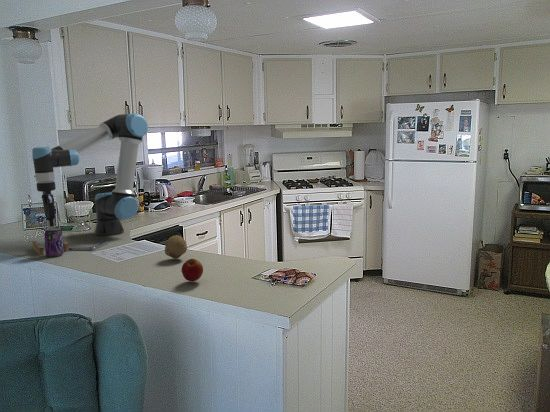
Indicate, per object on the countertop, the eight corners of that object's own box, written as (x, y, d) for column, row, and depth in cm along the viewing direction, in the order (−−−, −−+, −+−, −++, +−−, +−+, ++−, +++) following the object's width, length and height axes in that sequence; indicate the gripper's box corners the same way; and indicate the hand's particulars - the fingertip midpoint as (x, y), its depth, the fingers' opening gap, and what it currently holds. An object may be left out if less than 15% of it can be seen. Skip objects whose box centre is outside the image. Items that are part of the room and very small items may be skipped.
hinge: (113, 247, 215) (113, 244, 215) (71, 253, 204) (71, 251, 203) (106, 243, 223) (106, 240, 223) (65, 249, 212) (65, 246, 212)
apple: (177, 282, 162) (176, 260, 161) (193, 276, 169) (192, 255, 168) (192, 285, 158) (191, 263, 157) (208, 279, 165) (207, 257, 164)
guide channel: (60, 244, 221) (59, 237, 221) (68, 251, 209) (68, 243, 208) (32, 248, 214) (32, 241, 214) (40, 255, 202) (39, 247, 201)
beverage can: (53, 258, 197) (51, 231, 195) (42, 256, 200) (40, 229, 198) (67, 254, 203) (65, 228, 201) (56, 252, 206) (54, 226, 204)
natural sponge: (192, 257, 194) (191, 234, 193) (177, 262, 187) (175, 238, 185) (177, 254, 199) (176, 232, 198) (161, 259, 192) (160, 236, 191)
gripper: (33, 181, 207) (40, 232, 211) (39, 183, 197) (46, 237, 201) (51, 179, 211) (57, 229, 216) (58, 182, 201) (64, 234, 206)
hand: (52, 233), depth 208 cm, fingers closed
